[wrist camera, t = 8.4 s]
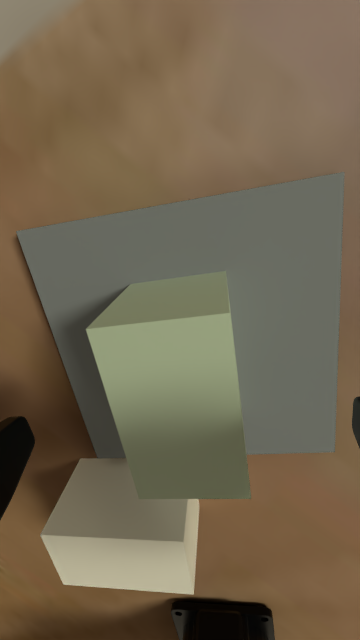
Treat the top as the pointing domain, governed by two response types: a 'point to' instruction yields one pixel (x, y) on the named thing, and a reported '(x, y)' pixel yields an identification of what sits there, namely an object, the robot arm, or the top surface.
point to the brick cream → (121, 533)
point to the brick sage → (175, 387)
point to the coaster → (243, 288)
